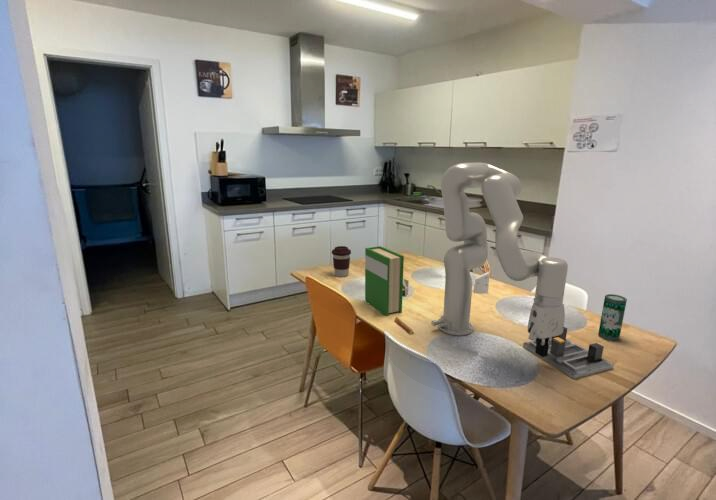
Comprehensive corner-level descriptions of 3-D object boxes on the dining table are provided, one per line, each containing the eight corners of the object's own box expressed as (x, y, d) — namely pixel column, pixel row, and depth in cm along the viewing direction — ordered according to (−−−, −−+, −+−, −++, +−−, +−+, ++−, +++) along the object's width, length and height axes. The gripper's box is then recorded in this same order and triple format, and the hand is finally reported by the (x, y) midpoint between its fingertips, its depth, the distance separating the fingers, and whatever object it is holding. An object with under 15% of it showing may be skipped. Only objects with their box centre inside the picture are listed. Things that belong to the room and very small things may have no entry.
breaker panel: (574, 379, 112) (577, 358, 110) (522, 347, 130) (525, 328, 128) (613, 368, 117) (616, 348, 115) (558, 339, 135) (561, 321, 134)
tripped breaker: (556, 357, 120) (558, 342, 119) (550, 353, 122) (552, 338, 121) (563, 355, 121) (566, 340, 120) (557, 352, 123) (559, 336, 122)
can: (596, 336, 137) (603, 297, 133) (601, 331, 141) (608, 292, 137) (616, 342, 133) (624, 302, 129) (620, 337, 137) (628, 297, 133)
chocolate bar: (408, 336, 138) (409, 330, 138) (393, 322, 149) (393, 317, 148) (415, 334, 139) (415, 329, 139) (399, 321, 150) (399, 316, 149)
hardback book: (401, 312, 157) (403, 255, 151) (386, 316, 154) (387, 258, 148) (379, 298, 172) (380, 246, 166) (365, 301, 169) (365, 248, 163)
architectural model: (402, 297, 174) (402, 282, 172) (393, 293, 179) (393, 277, 177) (408, 296, 175) (408, 280, 174) (398, 291, 181) (399, 276, 179)
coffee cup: (330, 273, 207) (329, 246, 203) (348, 271, 209) (347, 244, 206) (334, 278, 197) (334, 250, 194) (353, 277, 200) (353, 249, 196)
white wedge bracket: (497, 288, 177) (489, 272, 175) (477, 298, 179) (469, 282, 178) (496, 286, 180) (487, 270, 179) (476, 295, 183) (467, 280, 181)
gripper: (538, 307, 108) (531, 365, 113) (578, 300, 113) (569, 356, 118) (519, 298, 115) (513, 353, 120) (557, 291, 120) (549, 345, 125)
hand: (541, 354), depth 119 cm, fingers closed
